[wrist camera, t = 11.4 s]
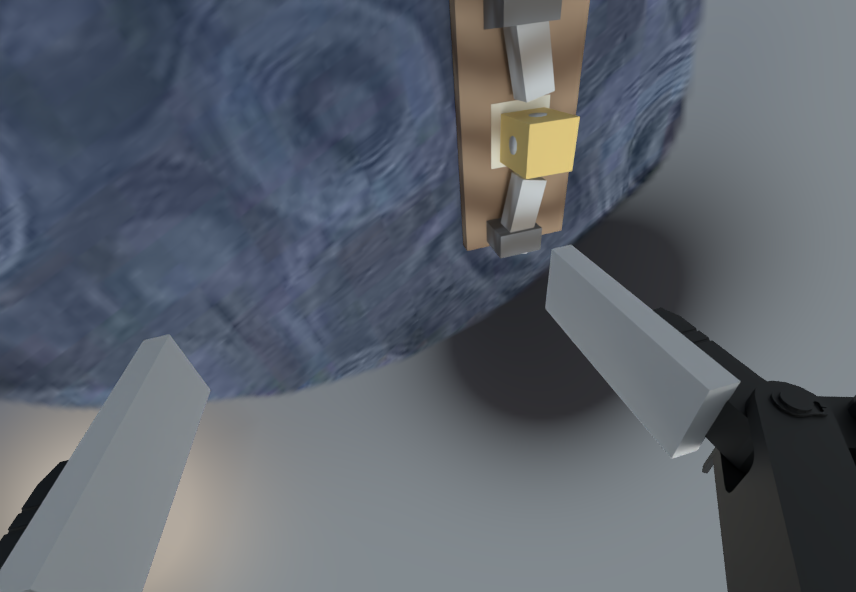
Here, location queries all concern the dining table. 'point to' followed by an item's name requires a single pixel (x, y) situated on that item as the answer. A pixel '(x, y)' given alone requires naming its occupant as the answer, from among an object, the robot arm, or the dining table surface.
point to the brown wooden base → (509, 92)
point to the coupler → (538, 141)
